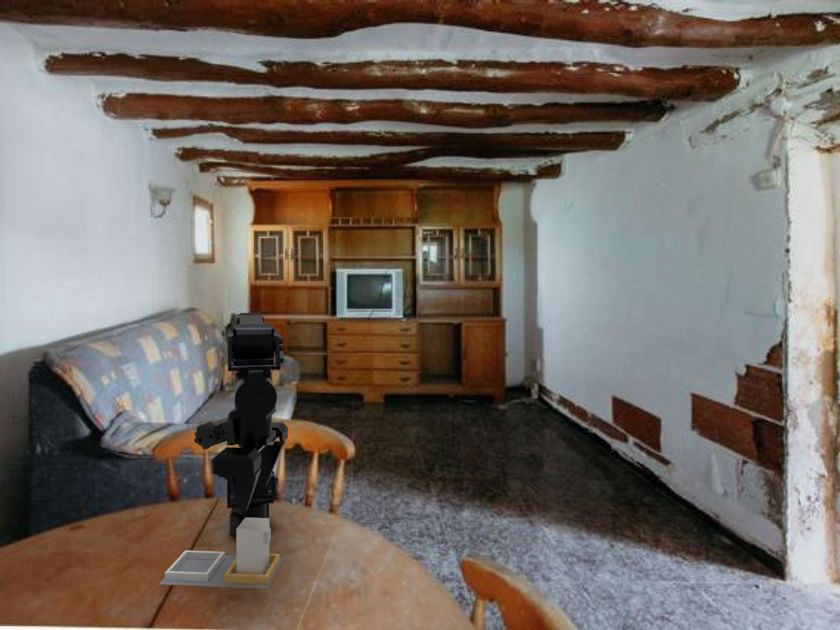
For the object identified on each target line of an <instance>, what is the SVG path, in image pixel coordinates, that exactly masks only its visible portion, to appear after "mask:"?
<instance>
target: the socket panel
mask: <svg viewBox="0 0 840 630" xmlns="http://www.w3.org/2000/svg"><path fill="white" fill-rule="evenodd" d="M284 559H285V557H281V553H269V566H268V568H267V570H266V572H265V573H264V575H255V574H237V560H236V555H231V554H230V555H229V554H228V555H227V554H226V552H225V551H215V550H213V551H212V550H211V551H210V550H208V551H207V550H184V551H183V552H182V553H181V554H180V556H179V557H177V559H176V560H175V561H174V562H173V563H172V565H170V566H169V567H168V568H167V570H166V571H165V572H164V578H162V580H161V581H160V582H159V583H158V585H164V586H165V585H167V586H169V585H170V586H192V587H216V588H217V587H218V588H236V589H238V588H240V589H241V588H242V589H243V588H244V589H260V590H261V589H264V590H265V589H267V590H268V588H269V587H270V585H271V583H272V581H273V579H274V578H275V576H276V574H277V572H278V570H279V569H280V567H281V565H282V563H283V561H284Z"/></svg>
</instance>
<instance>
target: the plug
mask: <svg viewBox="0 0 840 630" xmlns="http://www.w3.org/2000/svg"><path fill="white" fill-rule="evenodd" d="M271 529H272V527H270V517H269V518H245V519H244V520H243V521H242V523H241V524H240V525H239V526H238V528H237V529H236V538H235V539H236V547H235V548H236V554H235V556H236V560H237V574H255V575H264V573H265V572H266V570H267V568H268V566H269V554H270V542H271V539H272V532H271V531H272V530H271Z"/></svg>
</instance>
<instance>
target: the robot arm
mask: <svg viewBox="0 0 840 630" xmlns="http://www.w3.org/2000/svg"><path fill="white" fill-rule="evenodd" d="M226 333H227V341H226V342H227V344H226V345H227V351H226V352H227V372H233V373H234V409H232V410H231V411H230V412H229V413H228V415H227V417H225V418H222V419H219V420H216V421H213V422H211V420H209V421H207V422H206V423H205V422H204V423H201V424H199V425H197V426H196V431H195V432H194V437H195V438H194V439H193V442H194V443H195V444H198V446H200V447H201V448H202V450H203V451H205V450H208V449H210V448H211V447H213V446H216V445H219V444H222V443H225V442H226V447H225V448H223V449H222V450H221V451H220V452H219V453H217V454H216V455H215V456H214V457H213V458H212V459H211V460H210V472H211V474H212V475H216V477H218V478H223V479H225V480H226V509H227V510H228V509H231V513H229V536H231V537H233V538H235V539H236V529H237V528H238V526H239V525H240V524H241V523H242V521H243V520H244V519H245V518H269V519H270V504H275V501H276V500H278V487H279V478H278V477H277V476H276V474H275V470H274V469H275V467H276V464H277V462H278V460H279V458H280V456H281V453H282V451H283V448H284V447H285V445H286V440H288V437H289V427H288V426H287V425H286V423H284V422H283V421H281V422H279V421H273V415H274V414H275V413H276V412H277V401H278V394H277V391H276V387H275V385H274V383H273V372H272V371H281V368H282V366H281V365H282V364H285V363H284V361H285V357H284V356H285V355H284V354H285V353H284V343H283V337H282V336H281V333H280V331H279V330H275V325H274V324H273V323H266V322H265V315H264V313H261V312H240V313H236V321H235V322H234V323H233V324H232V325H230V327H229V328H228V329H227V332H226ZM278 439H279V440H278ZM235 445H237V447H233V446H235ZM229 446H230V447H229ZM231 446H232V447H231Z"/></svg>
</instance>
